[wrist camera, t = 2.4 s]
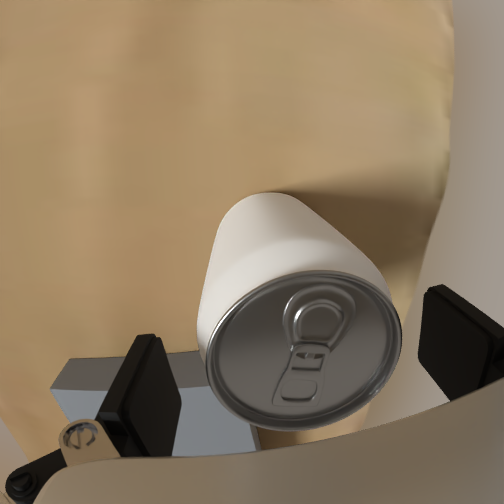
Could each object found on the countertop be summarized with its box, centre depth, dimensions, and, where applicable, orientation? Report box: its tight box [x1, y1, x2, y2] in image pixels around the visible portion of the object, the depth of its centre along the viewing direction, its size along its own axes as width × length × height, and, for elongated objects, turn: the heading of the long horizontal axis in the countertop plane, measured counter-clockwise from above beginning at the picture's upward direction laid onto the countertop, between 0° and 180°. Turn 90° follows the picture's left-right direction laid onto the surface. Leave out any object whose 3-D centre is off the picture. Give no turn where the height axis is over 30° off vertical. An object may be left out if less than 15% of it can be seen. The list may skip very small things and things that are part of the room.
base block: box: [50, 351, 261, 456], centre depth 22 cm, size 14×14×4 cm
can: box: [197, 192, 402, 431], centre depth 14 cm, size 6×6×12 cm
